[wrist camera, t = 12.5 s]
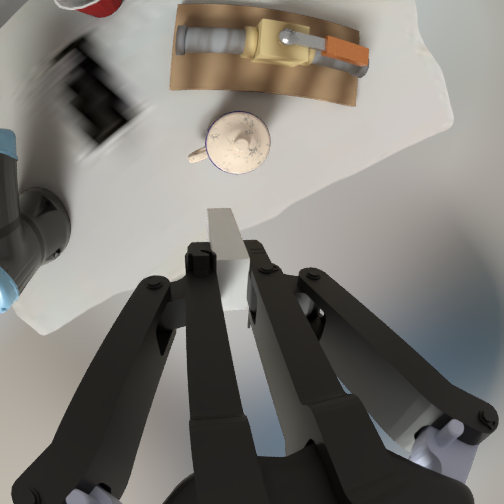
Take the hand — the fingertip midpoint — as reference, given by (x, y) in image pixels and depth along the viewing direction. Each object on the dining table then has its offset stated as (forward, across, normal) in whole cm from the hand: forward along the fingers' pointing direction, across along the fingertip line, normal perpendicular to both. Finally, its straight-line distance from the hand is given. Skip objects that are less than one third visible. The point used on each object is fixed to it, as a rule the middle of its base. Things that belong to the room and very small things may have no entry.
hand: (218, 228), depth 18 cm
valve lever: (+22, +16, +20) cm, 33 cm away
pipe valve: (+30, +10, +20) cm, 38 cm away
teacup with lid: (+31, +3, +3) cm, 31 cm away
